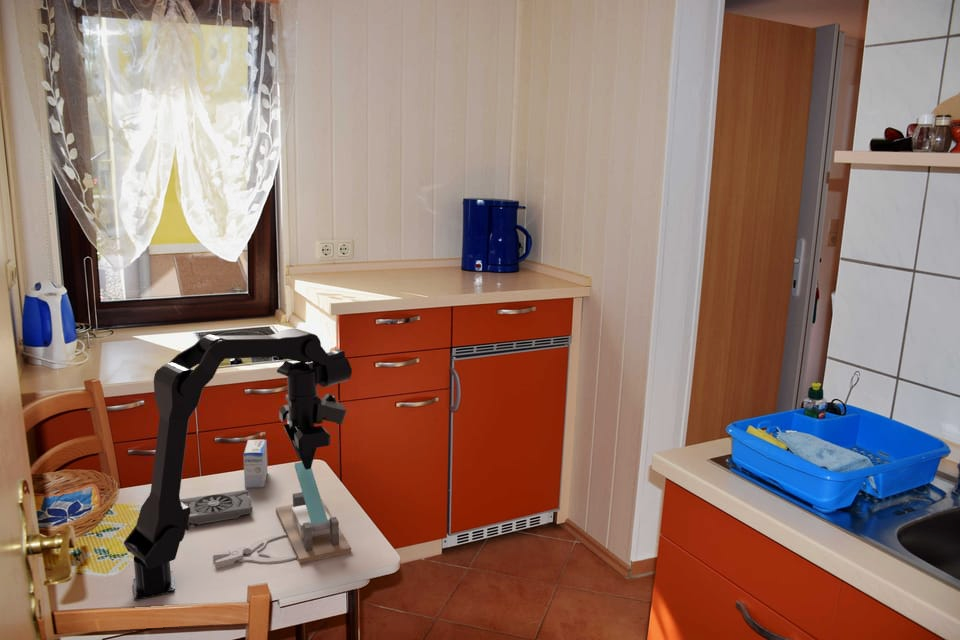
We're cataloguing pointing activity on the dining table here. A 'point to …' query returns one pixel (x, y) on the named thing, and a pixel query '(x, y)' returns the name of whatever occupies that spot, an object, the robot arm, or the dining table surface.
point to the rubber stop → (298, 499)
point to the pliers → (237, 555)
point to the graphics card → (217, 507)
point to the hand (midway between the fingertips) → (305, 464)
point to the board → (311, 534)
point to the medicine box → (255, 463)
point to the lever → (312, 498)
